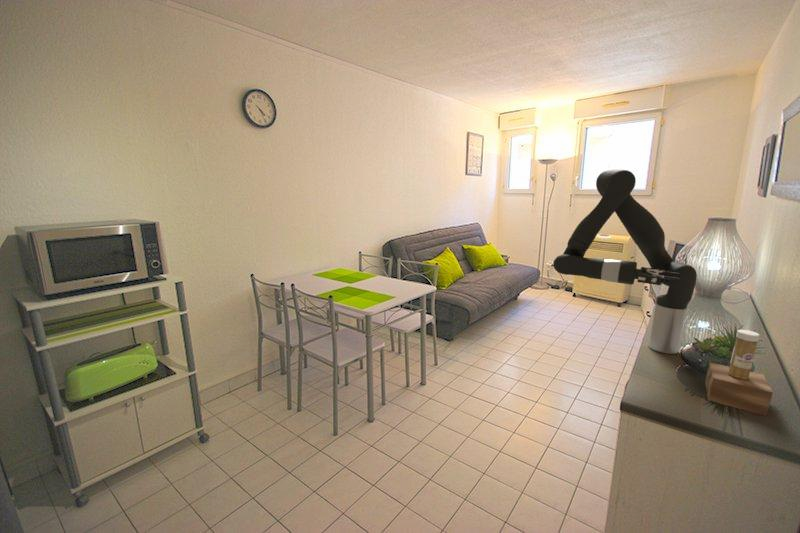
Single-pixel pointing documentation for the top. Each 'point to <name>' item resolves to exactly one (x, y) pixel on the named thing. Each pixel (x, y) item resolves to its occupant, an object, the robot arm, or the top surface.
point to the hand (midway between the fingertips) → (679, 279)
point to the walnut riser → (738, 390)
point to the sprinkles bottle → (743, 354)
